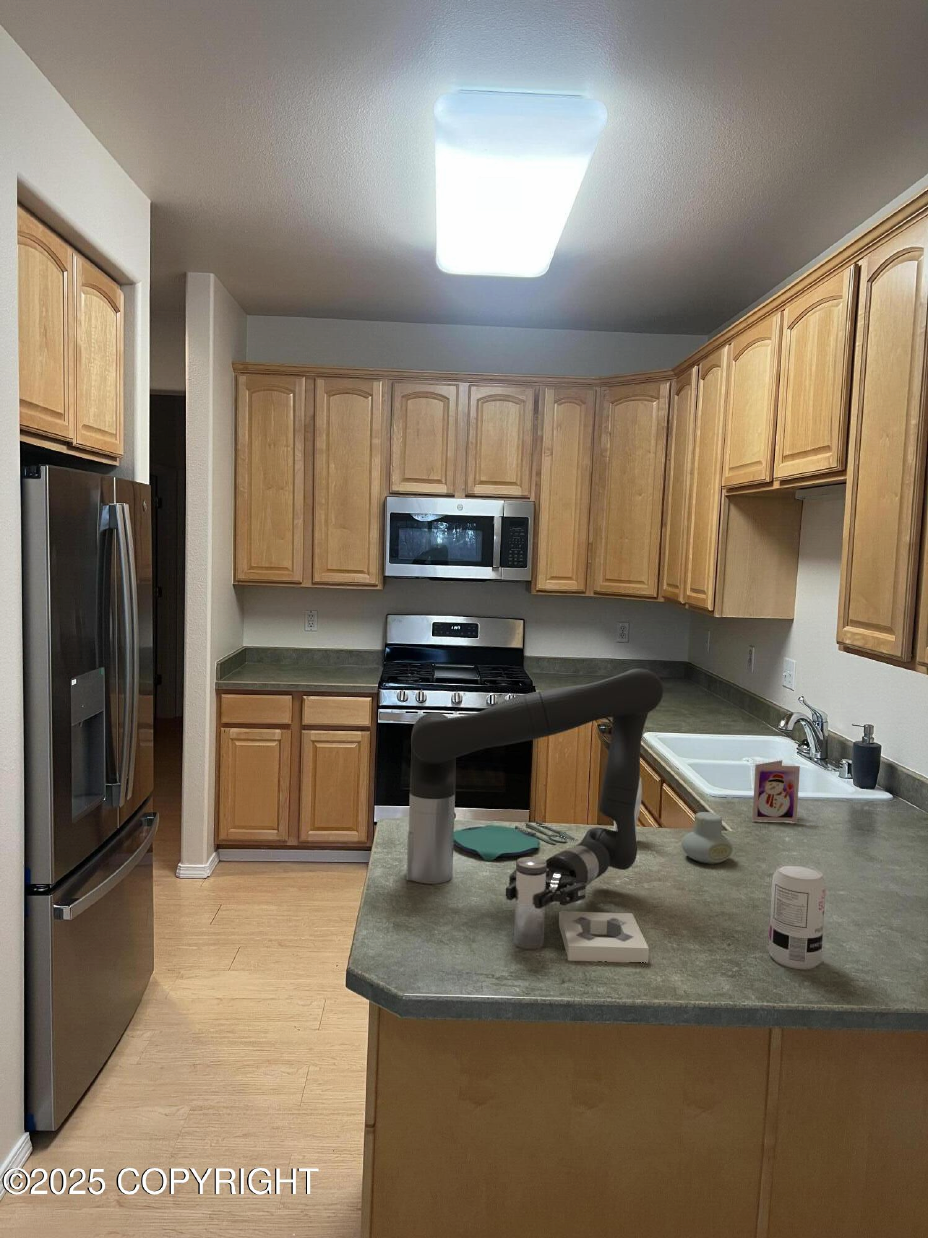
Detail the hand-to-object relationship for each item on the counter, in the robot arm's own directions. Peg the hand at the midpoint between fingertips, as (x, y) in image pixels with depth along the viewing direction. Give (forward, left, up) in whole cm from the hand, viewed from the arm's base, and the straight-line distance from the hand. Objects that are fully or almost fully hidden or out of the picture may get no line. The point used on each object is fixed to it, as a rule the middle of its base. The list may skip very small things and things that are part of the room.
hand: (522, 898), depth 144 cm
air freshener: (+44, +48, -9) cm, 66 cm away
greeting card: (+70, +81, -9) cm, 108 cm away
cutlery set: (+2, +56, -9) cm, 56 cm away
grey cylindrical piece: (+1, +2, -8) cm, 9 cm away
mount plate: (+14, +3, -9) cm, 17 cm away
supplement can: (+45, -1, -9) cm, 46 cm away
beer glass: (+28, +60, -9) cm, 67 cm away
